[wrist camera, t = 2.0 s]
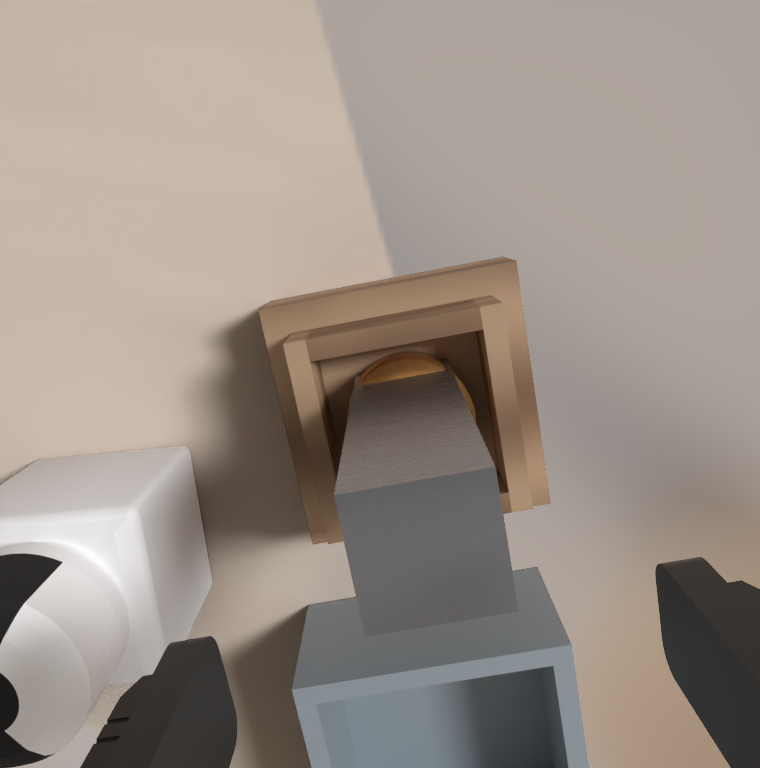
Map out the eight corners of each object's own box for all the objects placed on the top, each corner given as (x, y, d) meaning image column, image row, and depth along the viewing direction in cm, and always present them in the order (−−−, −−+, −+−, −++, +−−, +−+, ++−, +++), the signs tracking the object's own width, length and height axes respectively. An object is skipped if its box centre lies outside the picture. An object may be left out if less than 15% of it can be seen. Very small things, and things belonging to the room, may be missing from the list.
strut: (337, 362, 26) (301, 474, 15) (459, 340, 26) (519, 435, 15) (361, 476, 28) (345, 663, 16) (478, 455, 27) (547, 629, 16)
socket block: (271, 301, 29) (245, 319, 24) (502, 256, 28) (530, 265, 23) (319, 514, 31) (306, 574, 26) (534, 476, 31) (566, 530, 25)
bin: (308, 605, 32) (291, 690, 26) (537, 566, 32) (571, 644, 26) (353, 793, 35) (347, 908, 29) (566, 760, 34) (603, 870, 28)
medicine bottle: (67, 597, 32) (-111, 810, 21) (35, 457, 31) (-178, 601, 19) (215, 584, 32) (119, 792, 20) (190, 442, 30) (71, 580, 19)
